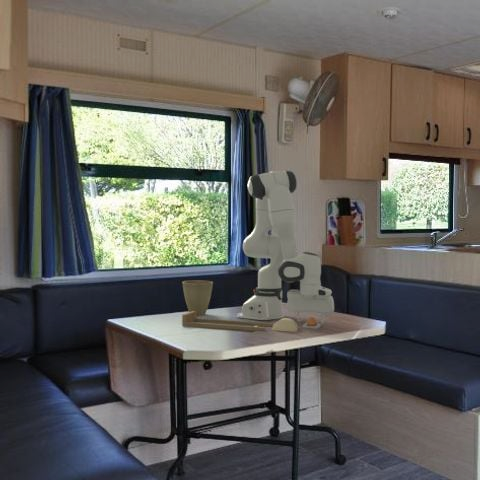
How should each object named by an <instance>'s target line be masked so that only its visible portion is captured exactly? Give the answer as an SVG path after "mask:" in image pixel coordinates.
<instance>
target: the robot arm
mask: <svg viewBox="0 0 480 480" xmlns="http://www.w3.org/2000/svg"><path fill="white" fill-rule="evenodd" d="M297 183H298V181H297V177H296V175H295V173H294V172H293V171H291V170H283V171H278V170H276V171H275V170H274V171H270V172H263V173H260V174H258V173H257V174H253V175H251V176H250V177H249V179H248V180H247V190H248V193H249V195H250V196H251V197H252V198H253V199H255V225H254V228H253V230H252V231H251V233H250V234H248V235H247V236H246V237H245V239H244V240H243V243H242V251H243V254H245V256H246V257H248V258H249V257H250V258H255V259H270V263H267V264H266V265H264V266H262V267H261V268H259V270H258V272H257V287H255V288H254V289H253V294H254V295H252V296H251V297H250V298H248V299H247V300H246V301H245V302H244V303H243V304H242V308H241V312H238V313H237V314H236V317H237V318H238V319H239V318H241V319H247V320H257V321H259V320H260V321H270V320H277V319H283V318H286V317H285V313H284V309H283V303H282V302H283V287H282V281H283V282H285V283H295V282H300V283H299V289H289V290H288V291H287V293H286V298H287V302H286V309H287V311H289V312H294V315H295V317H296V318H297V323H301V322H303V320H302V319H303V317H302V316H301V317H300V315H299V314H300V312H303V313H320V314H321V318H319V319H318V324H324V319H325V317H326V315H327V314H332V313H334V311H335V301H334V297H333V295H332V293H333V292H332V289H330V288H327V287H324V286H322V283H321V282H322V281H321V275H322V264H321V263H322V262H321V258H320V256H319V255H318V254H317V253H313V252H310V251H309V252H307V251H304V252H301V253H300V254H297V253H298V252H297V251H298V243H297V241H296V240H295V227H296V211H295V205H294V199H293V196H292V194H293V193H294V192H295V191H296V189H297ZM271 230H274V231H275V233H276V234H271V235H270V234H269V231H271Z"/></svg>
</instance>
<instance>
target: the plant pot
mask: <svg viewBox="0 0 480 480" xmlns="http://www.w3.org/2000/svg"><path fill="white" fill-rule="evenodd" d="M181 283H182V289H183V295H184V301H185V303H186V308H187V310H188V313H189V312H191V311H196V317H198V316H199V317H200V316H205V315H206V313H207V310H208V307H209V305H210V300H211V297H212V291H213V286H214V282H213V281H210V280H201V279H198V280H197V279H196V280H195V279H193V280H184V281H182V282H181Z"/></svg>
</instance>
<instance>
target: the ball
mask: <svg viewBox="0 0 480 480" xmlns="http://www.w3.org/2000/svg"><path fill="white" fill-rule="evenodd" d="M306 323H307V324H308V325H309V326H315V325H316V324H317V319H316V318H315V317H312V316H311V317H309V318H308V319H307V321H306Z"/></svg>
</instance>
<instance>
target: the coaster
mask: <svg viewBox="0 0 480 480" xmlns="http://www.w3.org/2000/svg"><path fill="white" fill-rule="evenodd" d="M321 327H322V323H316V325H315V326H309V325H308V324H307V322H305V323H304V324H302V326H301V328H302V329H313V330H314V329H315V330H319V329H320V328H321Z"/></svg>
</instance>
